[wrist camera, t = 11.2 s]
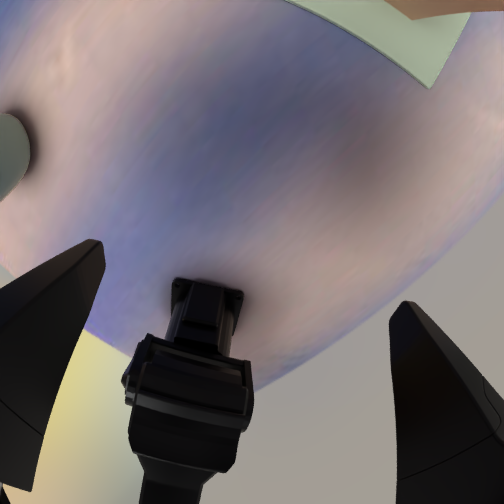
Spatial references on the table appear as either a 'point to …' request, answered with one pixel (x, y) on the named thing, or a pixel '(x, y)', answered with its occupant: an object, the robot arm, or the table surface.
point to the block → (443, 7)
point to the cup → (12, 153)
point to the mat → (395, 33)
